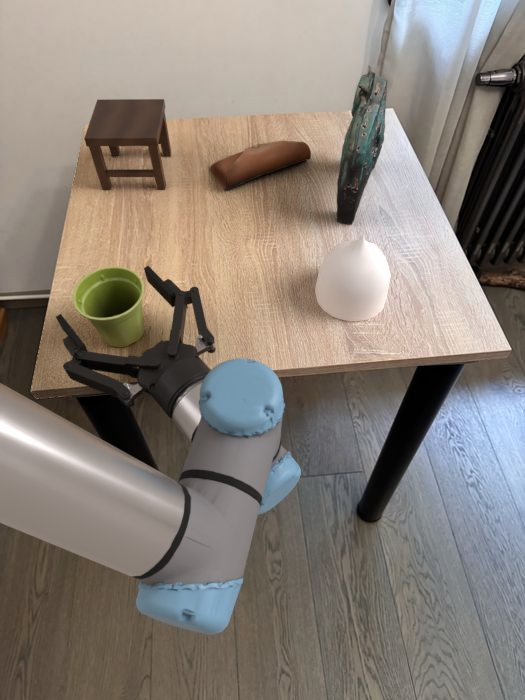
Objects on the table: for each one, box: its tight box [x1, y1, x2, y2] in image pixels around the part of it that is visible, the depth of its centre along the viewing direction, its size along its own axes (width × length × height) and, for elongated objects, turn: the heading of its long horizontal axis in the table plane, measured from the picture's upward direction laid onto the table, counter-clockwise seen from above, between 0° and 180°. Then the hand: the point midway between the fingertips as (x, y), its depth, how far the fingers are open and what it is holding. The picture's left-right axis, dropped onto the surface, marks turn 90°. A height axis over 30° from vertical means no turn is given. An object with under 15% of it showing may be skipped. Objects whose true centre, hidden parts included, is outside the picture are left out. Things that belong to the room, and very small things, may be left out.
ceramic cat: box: [335, 65, 388, 225], centre depth 84 cm, size 20×6×20 cm, turn 164°
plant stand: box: [83, 98, 172, 191], centre depth 92 cm, size 12×12×10 cm
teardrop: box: [314, 234, 392, 323], centre depth 73 cm, size 11×11×12 cm
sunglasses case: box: [210, 140, 312, 191], centre depth 95 cm, size 18×7×7 cm
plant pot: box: [72, 265, 145, 348], centre depth 71 cm, size 9×9×9 cm
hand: (105, 296), depth 70 cm, fingers open, 13 cm apart
